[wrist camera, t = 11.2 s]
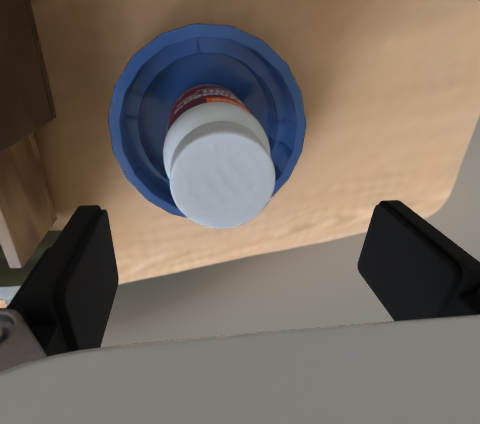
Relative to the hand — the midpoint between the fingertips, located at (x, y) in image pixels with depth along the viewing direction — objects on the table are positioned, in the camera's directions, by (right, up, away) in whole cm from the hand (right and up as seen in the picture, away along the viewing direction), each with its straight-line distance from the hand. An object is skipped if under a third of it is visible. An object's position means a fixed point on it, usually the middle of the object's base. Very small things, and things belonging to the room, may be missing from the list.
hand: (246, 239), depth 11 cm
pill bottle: (-3, +8, +14) cm, 16 cm away
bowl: (-3, +8, +14) cm, 16 cm away
